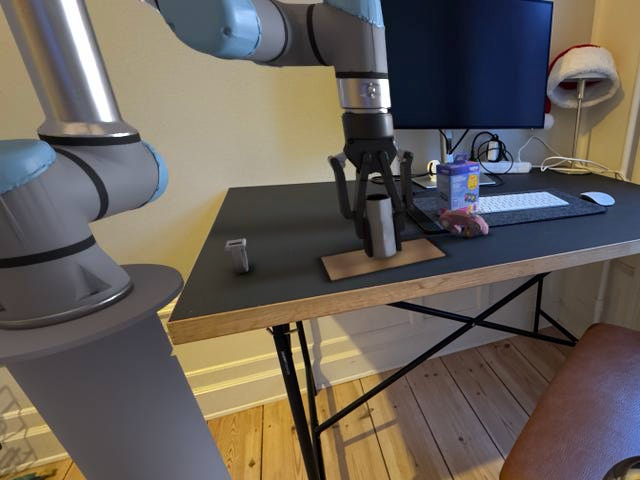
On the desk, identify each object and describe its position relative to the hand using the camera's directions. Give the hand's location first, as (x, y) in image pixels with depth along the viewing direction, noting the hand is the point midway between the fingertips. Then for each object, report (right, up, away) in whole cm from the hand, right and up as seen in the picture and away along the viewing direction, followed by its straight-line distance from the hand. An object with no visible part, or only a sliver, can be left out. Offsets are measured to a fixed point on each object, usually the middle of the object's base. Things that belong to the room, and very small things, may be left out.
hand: (383, 251), depth 66 cm
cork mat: (0, -1, 0) cm, 1 cm away
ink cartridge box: (+12, +10, +25) cm, 29 cm away
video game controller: (+14, +4, +11) cm, 18 cm away
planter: (0, 0, 0) cm, 0 cm away
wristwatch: (-22, -4, -5) cm, 23 cm away
